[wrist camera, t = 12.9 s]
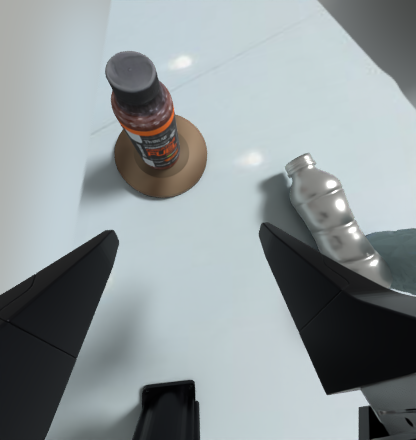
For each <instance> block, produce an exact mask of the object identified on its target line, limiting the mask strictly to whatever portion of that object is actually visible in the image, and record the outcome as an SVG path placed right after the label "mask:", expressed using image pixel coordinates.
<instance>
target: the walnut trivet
mask: <svg viewBox="0 0 416 440" xmlns="http://www.w3.org/2000/svg"><path fill="white" fill-rule="evenodd" d="M175 119H176V125H177V132H178V138H179V144H180V156H179V159H178V161H177V162H176V163H175V164H174V165H173V166H172V167H170V168H167V169H154V168H152V167H150V166H148V165H147V164H146V163H145V162H144V161H143V160H142V158H141V157H140V155H139V153H138V152H137V150H136V149H135V147H134V145H133V144H132V142H131V140H130V139H129V137H128V136H127V134H126V132H125V131H124V129H123V130H122V132H121V133H120V135H119V137H118V139H117V142H116V145H115V162H116V166H117V169H118V171H119V173H120V174H121V176H122V177H123V179H124V180H125V181H126V182H127V183H128V184H129V185H131V186H132V187H133V188H134V189H136V190H137V191H139V192H141V193H143V194H145V195H148V196H152V197H158V198H166V197H173V196H177V195H180V194H182V193H184V192H186V191H188V190H189V189H191V188H192V187H193V186H194V185H195V184H196V183H197V182H198V181H199V179H200V178H201V176H202V174H203V172H204V170H205V167H206V161H207V148H206V144H205V141H204V138H203V136H202V134H201V133H200V131H199V130H198V129H197V128H196V127H195V126H194V125H193V124H192V123H191V122H190V121H188V120H186V119H185V118H183V117H181V116H178V115H175Z"/></svg>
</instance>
